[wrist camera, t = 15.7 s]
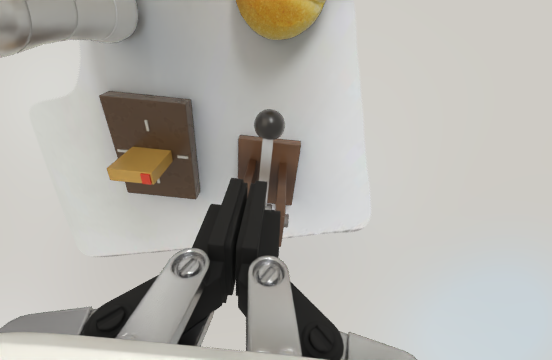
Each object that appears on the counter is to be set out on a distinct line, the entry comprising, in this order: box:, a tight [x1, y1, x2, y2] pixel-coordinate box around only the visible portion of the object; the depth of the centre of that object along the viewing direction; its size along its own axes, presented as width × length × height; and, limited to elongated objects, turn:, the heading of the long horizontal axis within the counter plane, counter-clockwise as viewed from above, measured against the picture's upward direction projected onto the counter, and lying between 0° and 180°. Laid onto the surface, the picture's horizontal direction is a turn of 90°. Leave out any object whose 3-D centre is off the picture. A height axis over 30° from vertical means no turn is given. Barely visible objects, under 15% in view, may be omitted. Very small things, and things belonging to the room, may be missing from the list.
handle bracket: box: [238, 135, 301, 247], centre depth 31 cm, size 10×8×12 cm
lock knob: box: [107, 147, 173, 185], centre depth 30 cm, size 5×2×6 cm, turn 85°
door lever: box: [254, 109, 285, 210], centre depth 27 cm, size 13×3×3 cm, turn 175°
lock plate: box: [99, 91, 200, 199], centre depth 33 cm, size 14×10×2 cm
